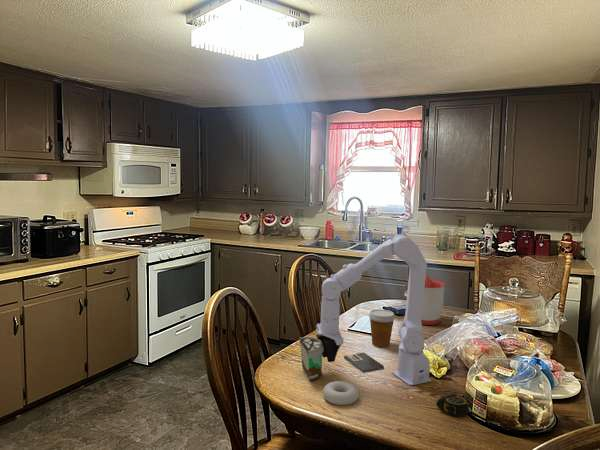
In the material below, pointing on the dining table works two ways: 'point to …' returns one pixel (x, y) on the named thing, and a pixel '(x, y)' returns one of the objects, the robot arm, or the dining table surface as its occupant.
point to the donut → (340, 393)
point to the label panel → (363, 362)
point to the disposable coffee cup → (381, 327)
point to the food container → (311, 357)
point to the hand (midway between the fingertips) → (328, 359)
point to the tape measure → (454, 405)
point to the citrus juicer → (431, 301)
